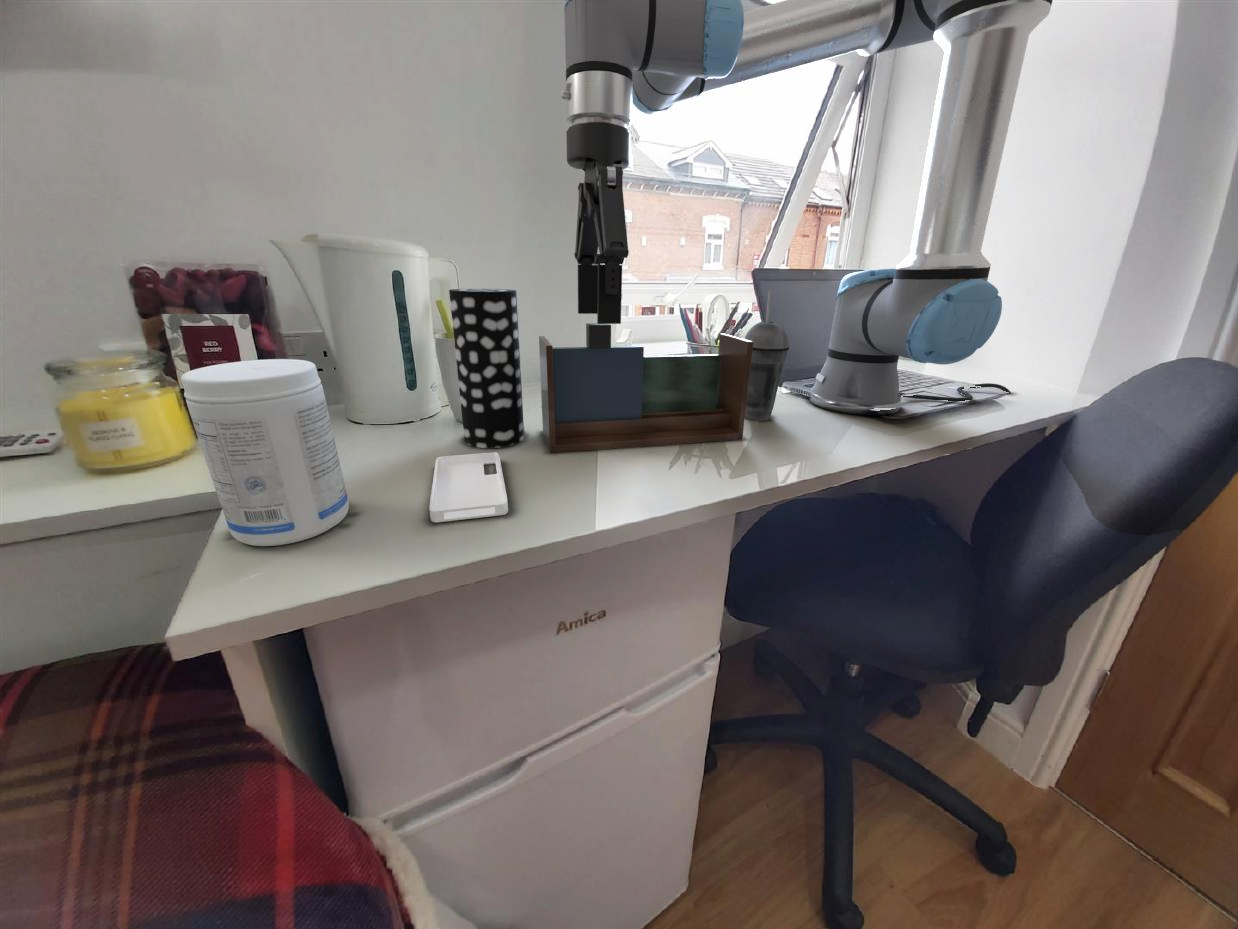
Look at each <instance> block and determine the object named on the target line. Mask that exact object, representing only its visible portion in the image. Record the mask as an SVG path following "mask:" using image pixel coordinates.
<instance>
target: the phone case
mask: <svg viewBox="0 0 1238 929" xmlns="http://www.w3.org/2000/svg"><path fill="white" fill-rule="evenodd" d="M484 465H485V466H486V465H495V469H496V473H492V474H485V467H484ZM432 478H433V479H432V484H431V485H432V486H431V491H430V499H429V504H428V505H429V506H428V509H429V516H430V521H431V522H432V523H444V522H453V521H461V520H463V521H464V520H470V519H479V518H489V517H497V516H498V517H499V516H504V515H507V514H508V512H509V503H508V496H507V489H506V485H505V484H506V483H505V479H504V474H503V467H502V463H501V458H500V454H499V452H481V453H469V454H468V453H467V454H458V455H446V456H445V455H444V456H438V457H437V458H436V459H435V464H434V472H433V477H432Z"/></svg>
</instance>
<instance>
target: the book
mask: <svg viewBox="0 0 1238 929" xmlns="http://www.w3.org/2000/svg"><path fill="white" fill-rule="evenodd" d="M585 334H586V335H585V339H586V340H585V341H586V342H585V346H559V347H558V346H557V347H553V375H554V406H555V423H567V422H585V421H603V420H621V419H639V418H641V413H642V385H643V356H645V355H644V354H645V353H644V352H645V351H644V350H645V347H644V346H642V345H612V324H598V323H586V324H585Z"/></svg>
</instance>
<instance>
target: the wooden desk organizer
mask: <svg viewBox="0 0 1238 929" xmlns="http://www.w3.org/2000/svg"><path fill="white" fill-rule="evenodd" d="M538 345H539V346H538V348H539V370H540V371H539V372H540V373H539V374H540V397H541V417H542V418H541V419H542V422H541V423H542V434H543V436H544V440H545V443H546V445H547V448H548V451H549V453H550V454H554V453H555V454H556V453H569V452H582V451H583V452H585V451H596V450H598V451H599V450H612V449H626V448H638V447H639V448H640V447H654V446H655V447H656V446H670V445H681V444H698V443H713V442H724V441H725V442H726V441H740V440H743V436H744V429H745V428H744V427H745V419H746V418H745V411H746V402H747V394H748V385H749V376H750V367H751V359H752V350H753V341H749V340H746V339H745V338H742V337H738V336H734V335H731V334H728V333H720V334H719V341H718V352H717V353H716V354H715V353H711V354H708V353H707V354H675V355H674V354H671V355H669V354H668V355H644V356H643V385H642V413H641V418H639V419H621V420H603V421H585V422H567V423H555V406H554V375H553V344H552V343H551V342H550V341H549V340H548V338H546V336H545V335H538Z"/></svg>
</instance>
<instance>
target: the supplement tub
mask: <svg viewBox="0 0 1238 929" xmlns="http://www.w3.org/2000/svg"><path fill="white" fill-rule="evenodd" d="M180 380H181V384H182V386H183V387H182V388H183V390H184V393H183V396H184V398H185V402H186V405H187V408H188V412H189V416H190V418H191V421H192V424H193V427H194V430H195V433H196V436H197V439H198V442H199V445H200V448H201V451H202V454H203V457H204V460H205V462H206V466H207V469H208V472H209V475H210V478H211V481H212V483H213V487H214V489H215V494H216V496H217V498H218V501H219V505H220V507H221V510H222V514H223V516H224V519H225V522H226V524H227V527H228V530H229V533H230V535H231V536H232V537H233V539H235V540H236V541H238V542H239V543H243V544H245V545H249V546H253V547H254V546H256V547H274V546H275V547H276V546H283V545H284V546H285V545H289V544H294V543H299V542H303V541H306V540H309V539H313V538H314V537H316V536H319V535H321V534H324V533H325V532H327V531H329V530H330V529H332V528H333V527H336V526H337V525H338V524H340V523H341V522H342V520H344V519H345V517H346V516H347V514H348V513H349V510H350V502H349V498H348V492H347V488H346V483H345V480H344V474H343V471H342V470H343V469H342V467H341V462H340V457H339V453H338V448H337V444H336V439H335V435H334V431H333V425H332V420H331V417H330V413H329V409H328V403H327V398H326V395H325V391H324V387H323V384H322V383H321V382H322V380H321V378H320V376H319V373H318V369H317V365H316V364H315V363H313V362H312V361H309V360H304V359H294V358H293V359H291V358H272V359H271V358H268V359H254V360H251V359H250V360H240V361H233V362H227V363H226V362H225V363H218V364H214V365H213V364H212V365H207V366H203V367H199V368H195V369H192V370H188V371H186V372H185V373H183V374H181V376H180Z"/></svg>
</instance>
